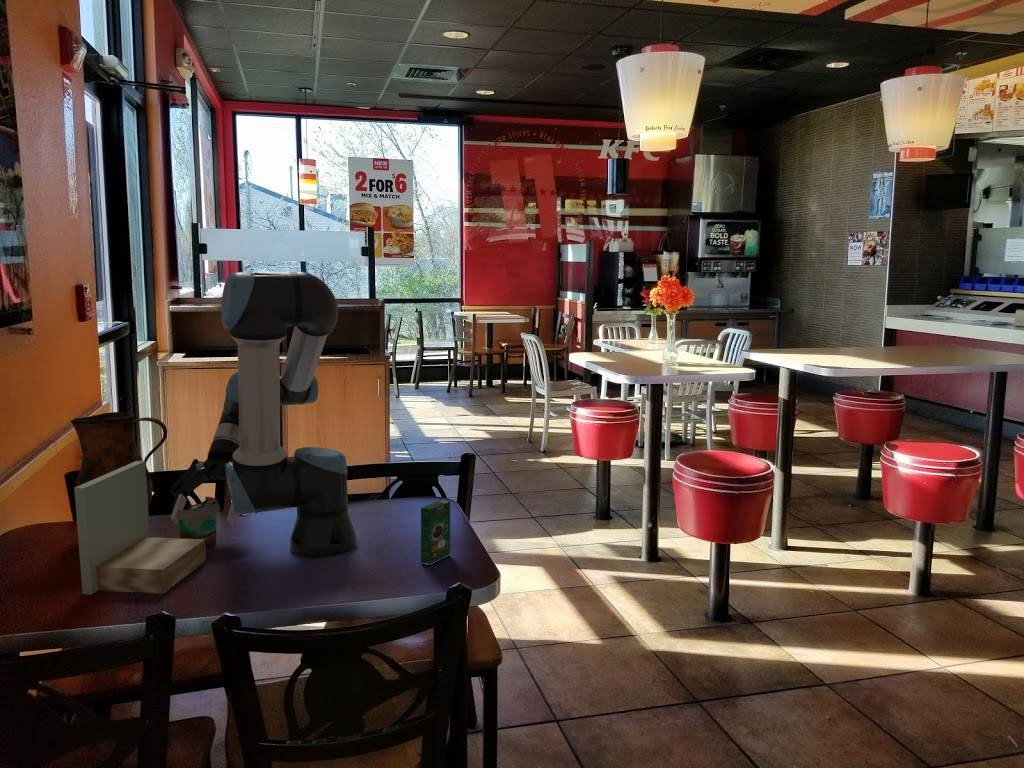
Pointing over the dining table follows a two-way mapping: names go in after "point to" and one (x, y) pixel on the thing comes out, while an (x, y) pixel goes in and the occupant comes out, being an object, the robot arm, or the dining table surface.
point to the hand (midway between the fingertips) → (201, 522)
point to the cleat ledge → (151, 565)
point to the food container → (199, 521)
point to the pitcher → (110, 445)
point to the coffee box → (435, 531)
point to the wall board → (110, 518)
